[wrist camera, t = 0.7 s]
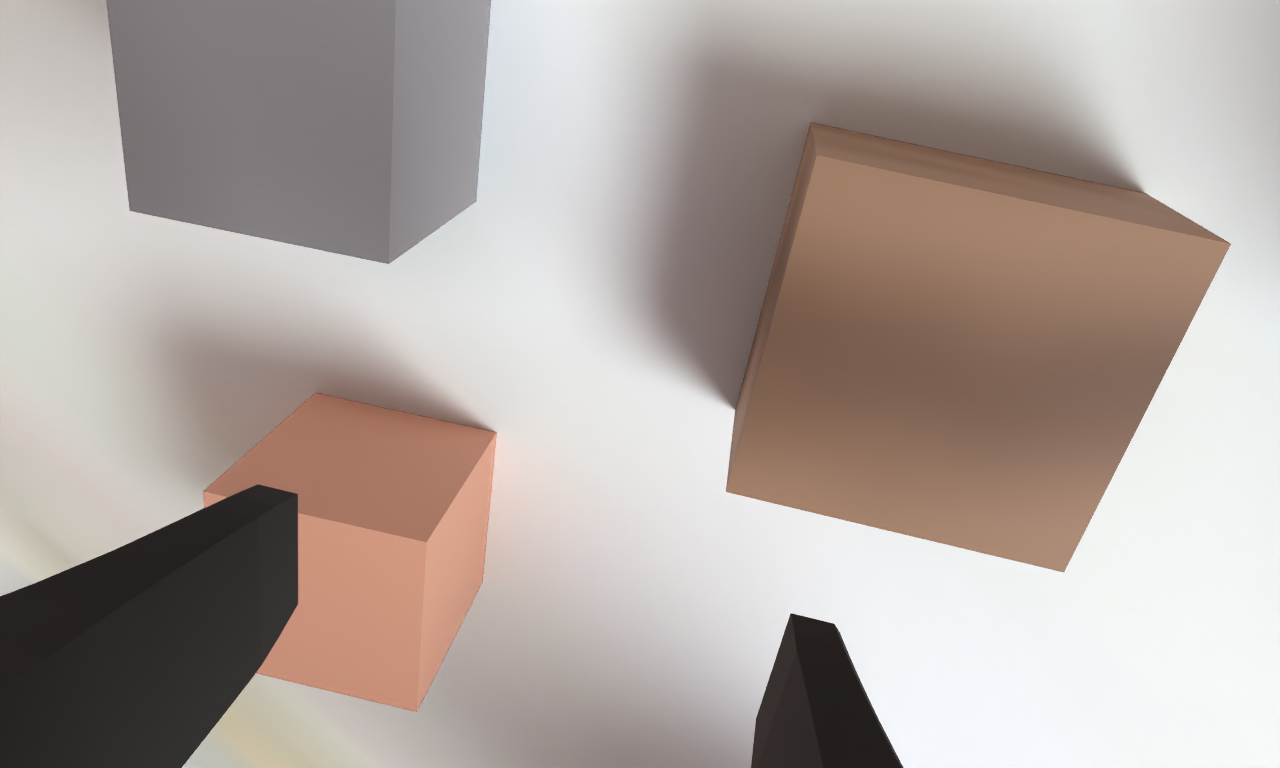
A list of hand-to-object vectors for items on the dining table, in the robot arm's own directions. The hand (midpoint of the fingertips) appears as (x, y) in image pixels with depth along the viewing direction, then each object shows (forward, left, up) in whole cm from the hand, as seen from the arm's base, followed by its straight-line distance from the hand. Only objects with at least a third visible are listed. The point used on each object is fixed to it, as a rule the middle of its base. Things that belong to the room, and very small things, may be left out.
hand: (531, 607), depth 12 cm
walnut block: (+2, -6, -10) cm, 12 cm away
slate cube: (+5, +7, -10) cm, 13 cm away
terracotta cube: (-6, +6, -10) cm, 13 cm away
